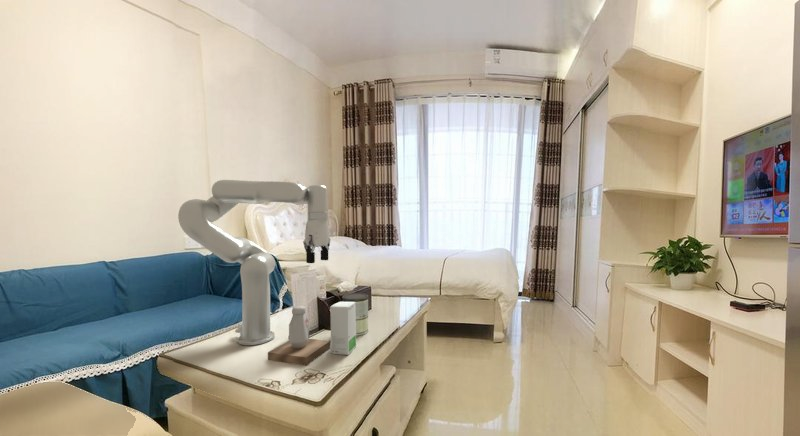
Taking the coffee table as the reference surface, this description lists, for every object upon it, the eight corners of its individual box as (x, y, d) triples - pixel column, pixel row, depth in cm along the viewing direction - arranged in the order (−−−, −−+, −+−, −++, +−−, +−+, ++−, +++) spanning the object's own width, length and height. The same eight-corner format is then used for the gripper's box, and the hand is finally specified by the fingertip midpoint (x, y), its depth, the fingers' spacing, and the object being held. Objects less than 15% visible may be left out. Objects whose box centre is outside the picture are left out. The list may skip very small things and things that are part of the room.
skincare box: (348, 355, 101) (347, 307, 102) (329, 354, 103) (328, 306, 103) (356, 346, 109) (356, 301, 110) (339, 344, 111) (338, 300, 111)
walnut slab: (267, 360, 98) (267, 352, 98) (295, 344, 112) (295, 337, 112) (306, 365, 94) (306, 357, 94) (330, 348, 108) (330, 340, 108)
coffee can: (338, 335, 120) (338, 298, 120) (347, 326, 130) (346, 292, 131) (365, 336, 119) (364, 299, 119) (371, 327, 129) (371, 293, 129)
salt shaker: (289, 350, 99) (289, 309, 100) (288, 344, 105) (288, 305, 105) (309, 347, 102) (308, 307, 102) (307, 341, 107) (306, 303, 107)
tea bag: (289, 341, 115) (288, 313, 115) (300, 335, 121) (300, 309, 121) (297, 342, 113) (297, 314, 114) (308, 336, 120) (308, 310, 120)
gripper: (321, 217, 131) (321, 259, 130) (295, 217, 114) (295, 264, 114) (337, 217, 129) (337, 259, 128) (313, 216, 112) (313, 264, 112)
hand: (317, 261), depth 121 cm, fingers open, 9 cm apart
